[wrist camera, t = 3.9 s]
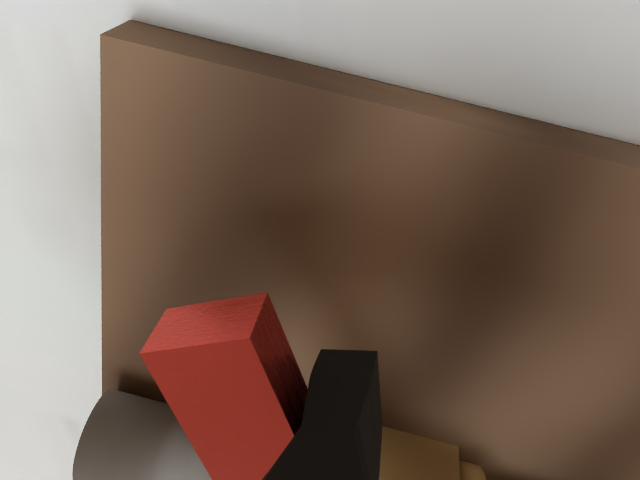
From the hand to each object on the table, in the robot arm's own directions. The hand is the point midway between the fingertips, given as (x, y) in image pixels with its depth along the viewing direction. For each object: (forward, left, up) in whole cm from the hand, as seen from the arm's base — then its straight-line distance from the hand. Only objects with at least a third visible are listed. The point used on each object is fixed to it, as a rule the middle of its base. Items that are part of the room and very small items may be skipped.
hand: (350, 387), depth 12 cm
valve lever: (0, +3, +1) cm, 3 cm away
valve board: (-2, +7, -5) cm, 9 cm away
